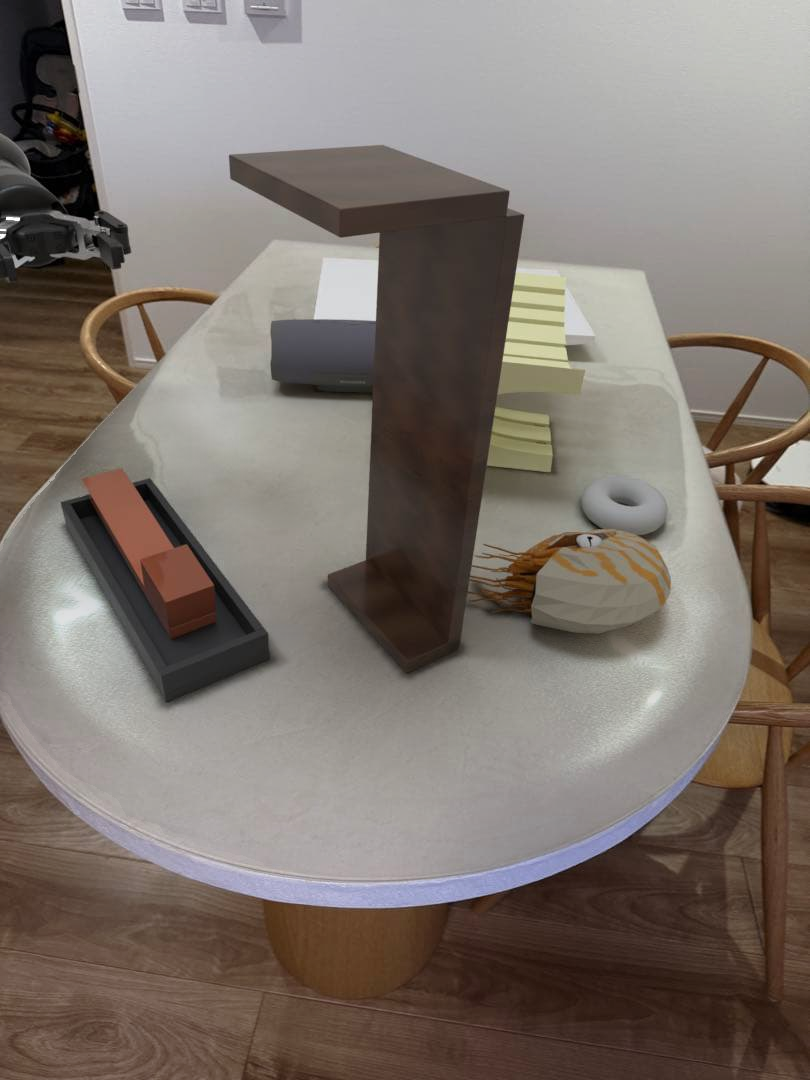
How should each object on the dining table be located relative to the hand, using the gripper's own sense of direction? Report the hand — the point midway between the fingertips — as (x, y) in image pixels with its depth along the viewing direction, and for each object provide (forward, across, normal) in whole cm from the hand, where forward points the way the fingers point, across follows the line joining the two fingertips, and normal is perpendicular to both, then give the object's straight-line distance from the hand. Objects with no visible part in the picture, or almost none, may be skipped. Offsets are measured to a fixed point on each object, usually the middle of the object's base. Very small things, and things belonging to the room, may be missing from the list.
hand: (65, 263), depth 65 cm
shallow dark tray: (+10, 0, +28) cm, 30 cm away
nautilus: (+32, +33, +29) cm, 54 cm away
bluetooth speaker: (-18, +40, +28) cm, 53 cm away
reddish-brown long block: (+7, 0, +26) cm, 27 cm away
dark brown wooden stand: (+26, +13, +28) cm, 41 cm away
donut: (+25, +51, +28) cm, 64 cm away
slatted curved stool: (+4, +48, +28) cm, 56 cm away
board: (-33, +69, +28) cm, 82 cm away
